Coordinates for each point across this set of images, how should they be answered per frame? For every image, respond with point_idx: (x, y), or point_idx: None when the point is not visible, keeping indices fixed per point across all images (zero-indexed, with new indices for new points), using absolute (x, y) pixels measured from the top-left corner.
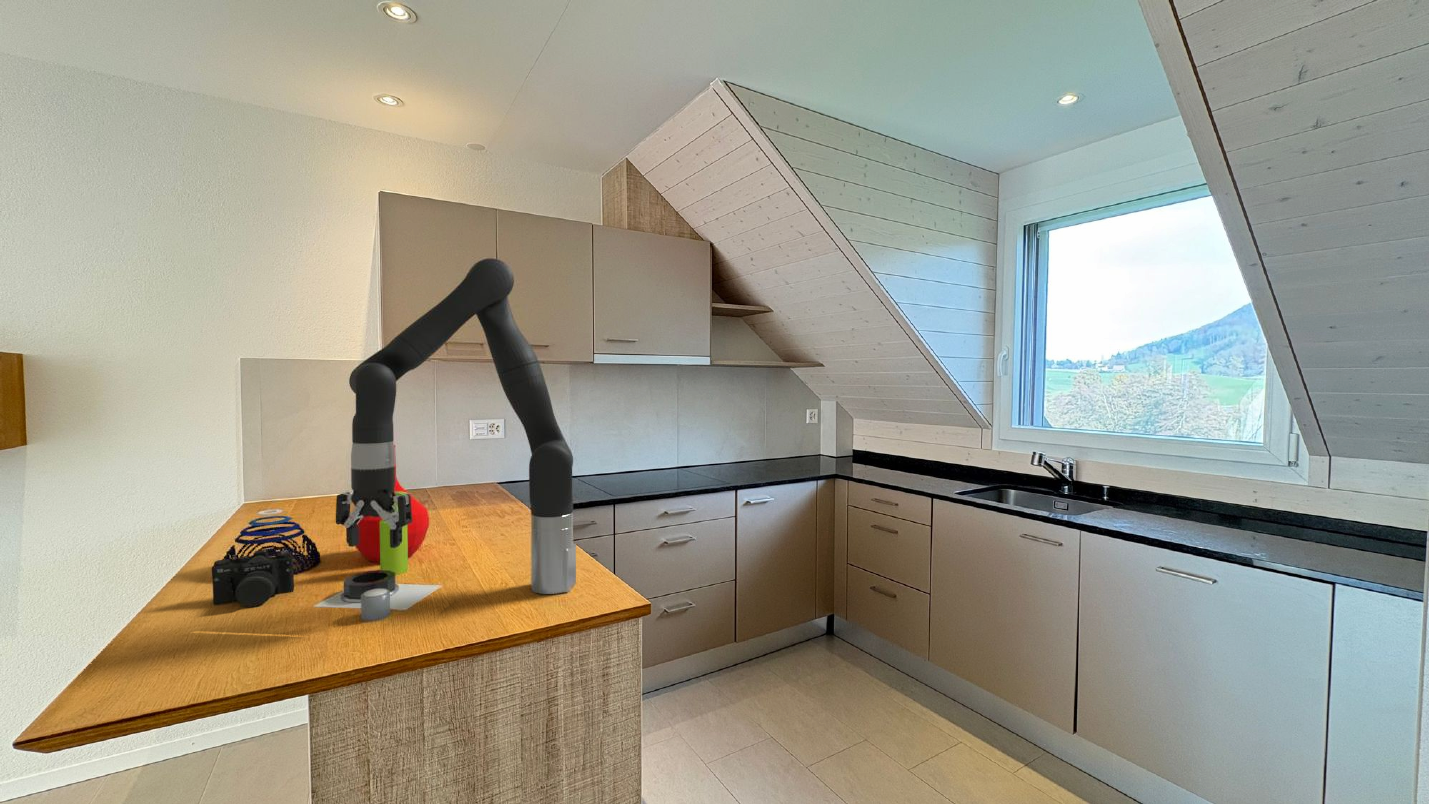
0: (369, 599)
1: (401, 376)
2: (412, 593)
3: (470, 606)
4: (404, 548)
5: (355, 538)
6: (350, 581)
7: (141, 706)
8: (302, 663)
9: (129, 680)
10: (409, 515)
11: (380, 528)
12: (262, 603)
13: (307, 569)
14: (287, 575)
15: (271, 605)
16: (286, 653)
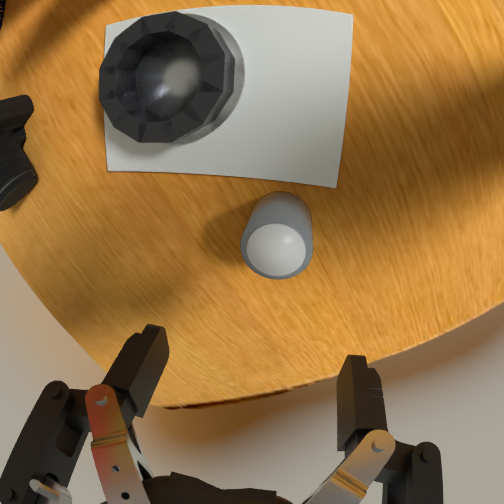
0: (278, 277)
1: None
2: (296, 70)
3: (468, 168)
4: None
5: (155, 362)
6: (123, 115)
7: (172, 396)
8: (260, 360)
9: (112, 358)
10: (430, 486)
11: None
12: (36, 179)
13: (1, 16)
14: (3, 122)
15: (44, 164)
16: (215, 336)
